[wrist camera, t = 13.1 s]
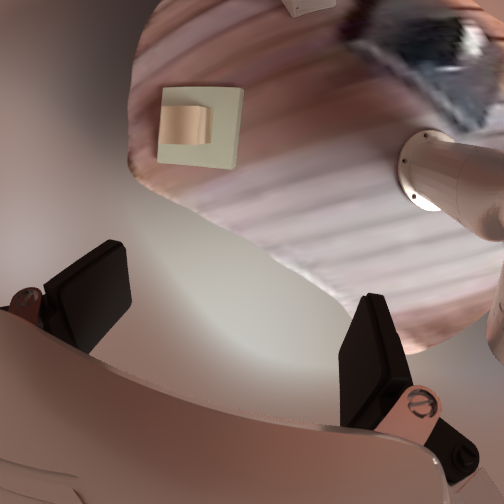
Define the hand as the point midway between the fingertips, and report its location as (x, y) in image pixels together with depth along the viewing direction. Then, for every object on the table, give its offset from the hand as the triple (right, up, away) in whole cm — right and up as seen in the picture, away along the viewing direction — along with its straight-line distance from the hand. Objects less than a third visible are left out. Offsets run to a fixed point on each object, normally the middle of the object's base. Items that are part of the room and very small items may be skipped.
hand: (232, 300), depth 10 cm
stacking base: (-7, +21, +28) cm, 35 cm away
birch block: (-7, +20, +26) cm, 33 cm away
